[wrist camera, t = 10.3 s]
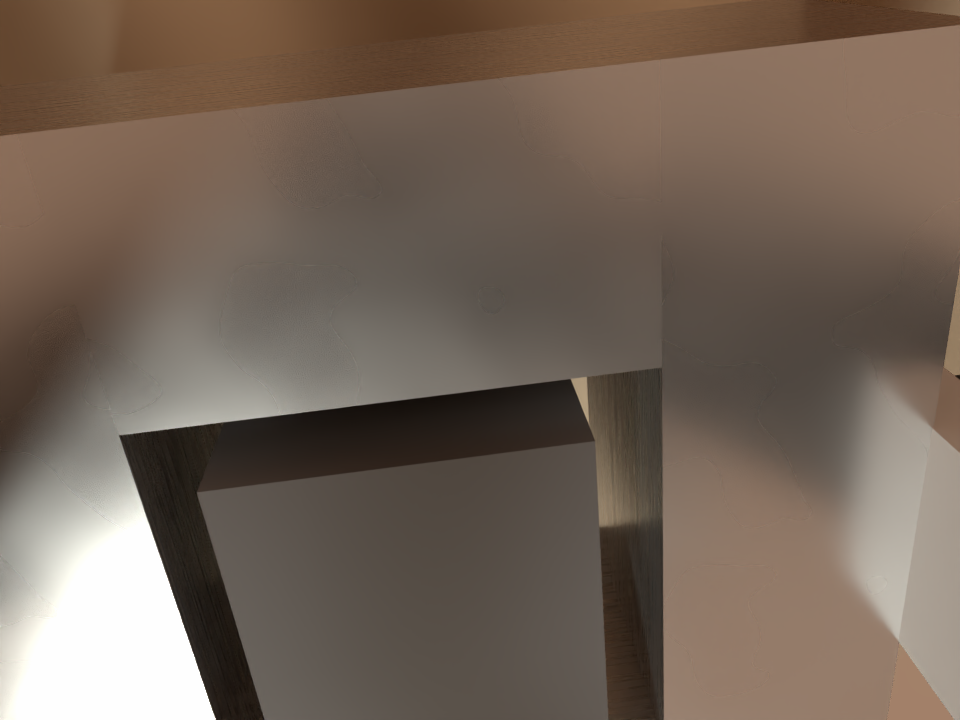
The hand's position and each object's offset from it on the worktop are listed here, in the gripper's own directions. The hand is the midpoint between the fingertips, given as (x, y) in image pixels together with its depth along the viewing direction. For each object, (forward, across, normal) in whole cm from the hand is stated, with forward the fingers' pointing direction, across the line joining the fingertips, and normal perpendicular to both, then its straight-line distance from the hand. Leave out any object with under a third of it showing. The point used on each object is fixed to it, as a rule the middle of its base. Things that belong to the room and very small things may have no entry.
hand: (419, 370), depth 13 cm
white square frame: (-1, 0, 0) cm, 1 cm away
